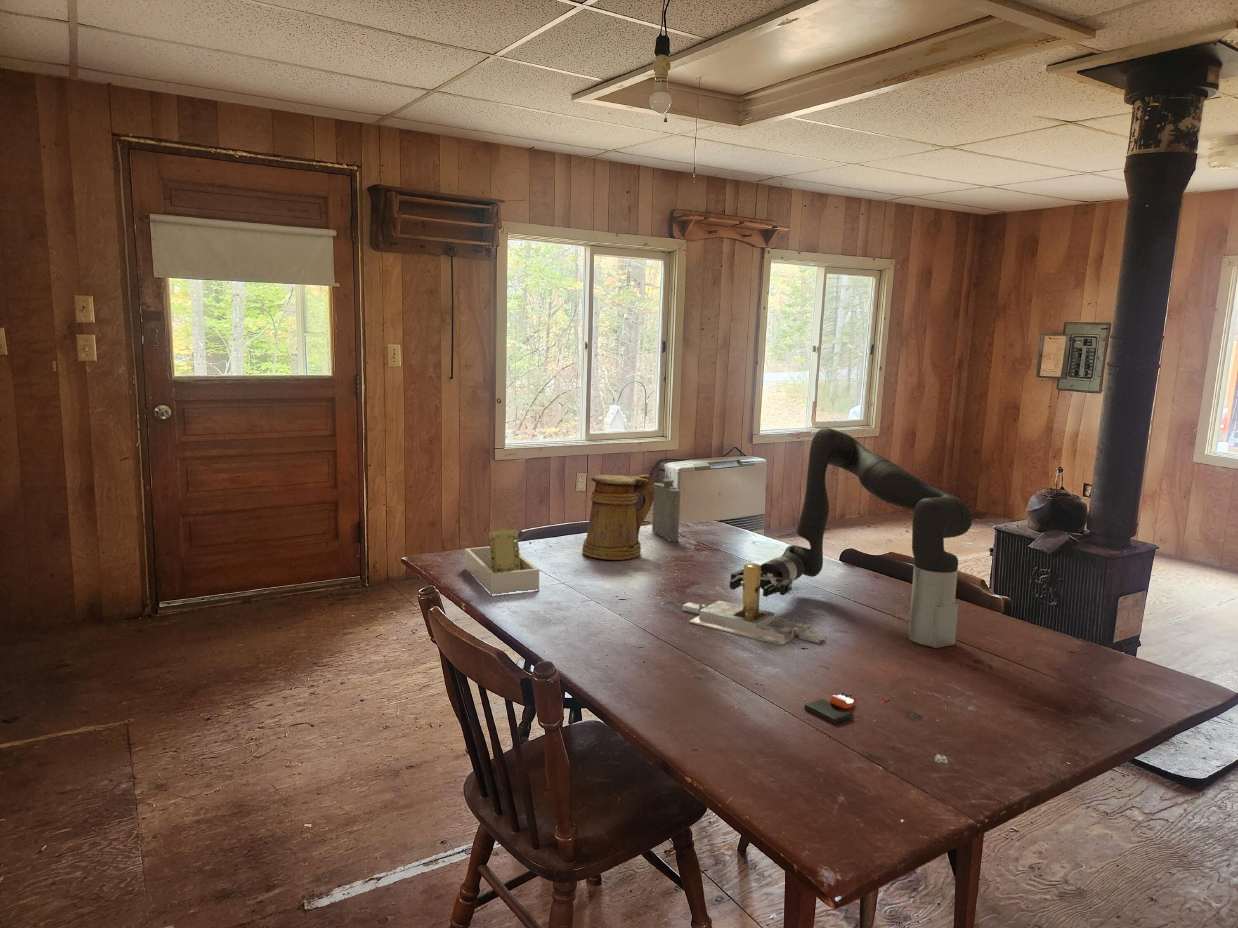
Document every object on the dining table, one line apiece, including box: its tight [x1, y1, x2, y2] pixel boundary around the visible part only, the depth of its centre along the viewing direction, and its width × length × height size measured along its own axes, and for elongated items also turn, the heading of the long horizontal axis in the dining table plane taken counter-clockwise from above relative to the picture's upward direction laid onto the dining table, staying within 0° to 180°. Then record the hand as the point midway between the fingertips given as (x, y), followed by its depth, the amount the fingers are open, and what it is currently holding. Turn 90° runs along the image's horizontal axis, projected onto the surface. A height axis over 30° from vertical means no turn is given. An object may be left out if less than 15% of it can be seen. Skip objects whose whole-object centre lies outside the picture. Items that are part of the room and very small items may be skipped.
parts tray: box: [464, 546, 540, 595], centre depth 224 cm, size 28×13×6 cm, turn 25°
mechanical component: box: [488, 528, 521, 573], centre depth 222 cm, size 8×17×20 cm, turn 8°
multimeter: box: [804, 692, 892, 726], centre depth 151 cm, size 18×12×3 cm, turn 120°
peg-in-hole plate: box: [682, 600, 825, 647], centre depth 192 cm, size 36×16×2 cm, turn 55°
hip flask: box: [651, 478, 681, 542], centre depth 278 cm, size 16×4×20 cm, turn 24°
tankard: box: [581, 473, 654, 561], centre depth 254 cm, size 18×24×25 cm
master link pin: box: [741, 562, 761, 621], centre depth 192 cm, size 4×4×14 cm
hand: (747, 588), depth 190 cm, fingers open, 8 cm apart
